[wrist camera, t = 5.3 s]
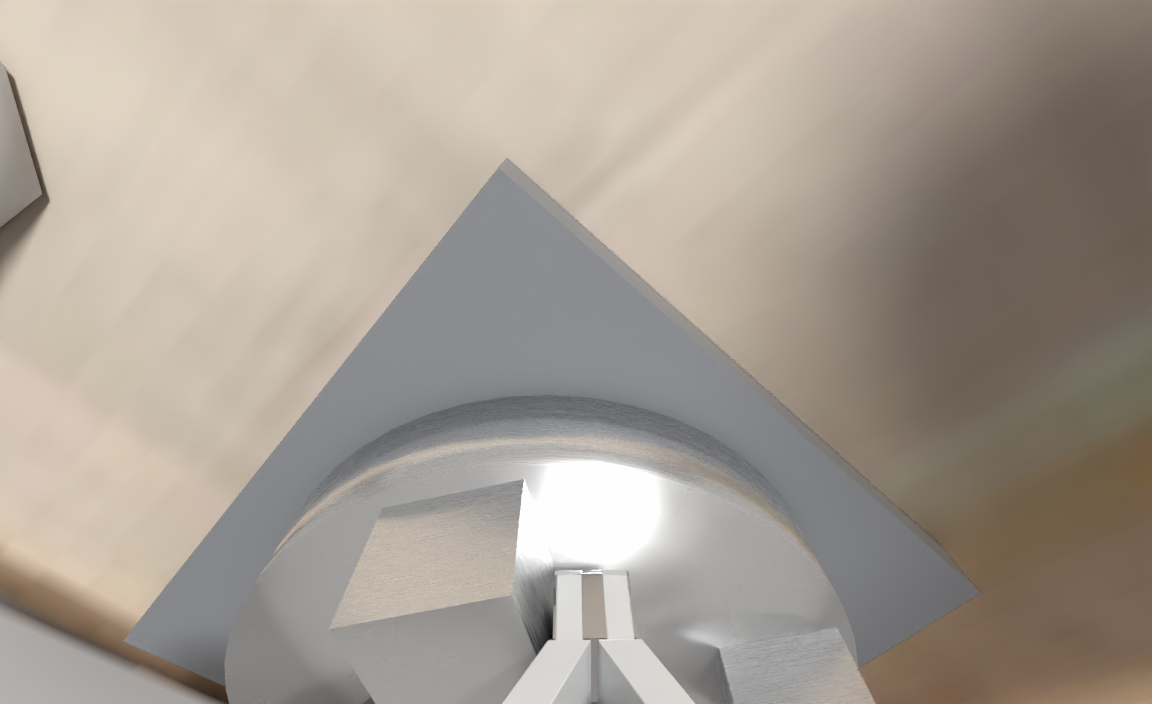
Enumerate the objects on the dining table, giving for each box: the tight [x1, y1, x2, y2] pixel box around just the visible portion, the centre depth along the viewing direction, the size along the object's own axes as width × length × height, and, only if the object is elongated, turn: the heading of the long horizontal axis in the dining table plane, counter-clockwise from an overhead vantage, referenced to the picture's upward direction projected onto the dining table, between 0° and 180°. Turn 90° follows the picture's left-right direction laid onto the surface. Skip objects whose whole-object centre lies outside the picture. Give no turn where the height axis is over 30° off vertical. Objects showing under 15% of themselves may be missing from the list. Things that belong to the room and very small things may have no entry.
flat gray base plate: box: [123, 158, 980, 687], centre depth 19 cm, size 20×20×2 cm
